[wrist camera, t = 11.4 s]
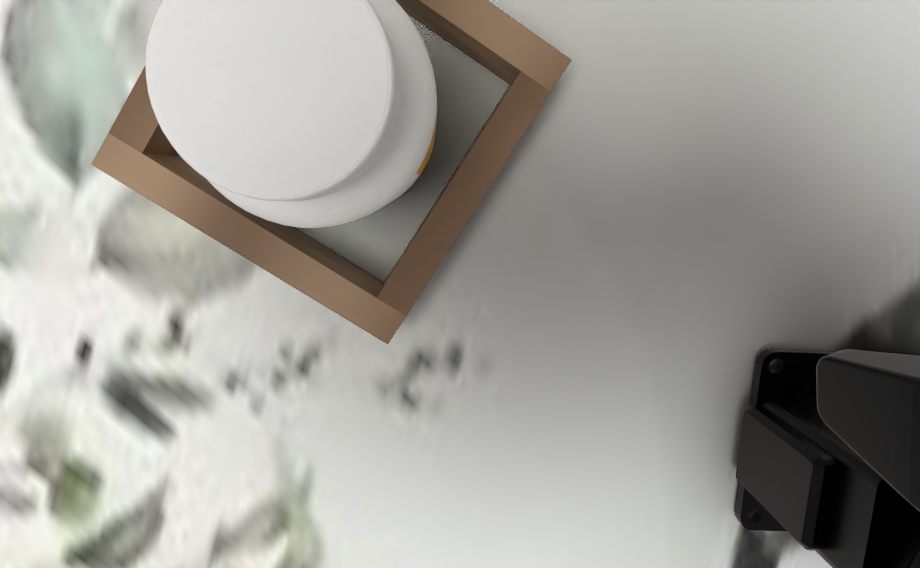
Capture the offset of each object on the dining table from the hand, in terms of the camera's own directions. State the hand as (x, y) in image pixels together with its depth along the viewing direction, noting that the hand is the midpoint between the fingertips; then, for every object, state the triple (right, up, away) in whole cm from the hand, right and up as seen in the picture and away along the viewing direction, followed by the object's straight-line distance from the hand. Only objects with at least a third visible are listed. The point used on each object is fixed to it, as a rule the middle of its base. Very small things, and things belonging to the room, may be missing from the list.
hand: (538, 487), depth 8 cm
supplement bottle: (-4, +8, +11) cm, 15 cm away
